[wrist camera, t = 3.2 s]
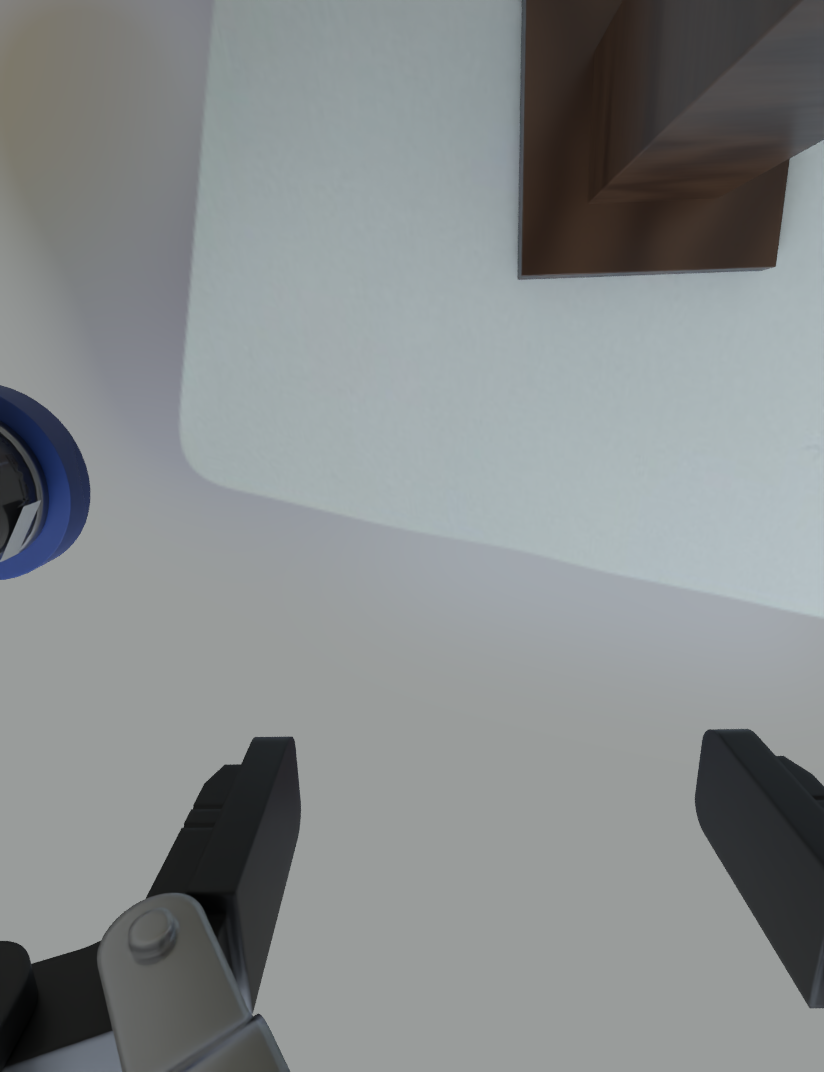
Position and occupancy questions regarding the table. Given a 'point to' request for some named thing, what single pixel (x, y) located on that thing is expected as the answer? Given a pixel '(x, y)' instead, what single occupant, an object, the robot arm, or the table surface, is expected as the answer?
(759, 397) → the table surface
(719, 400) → the table surface
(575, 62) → the stand
